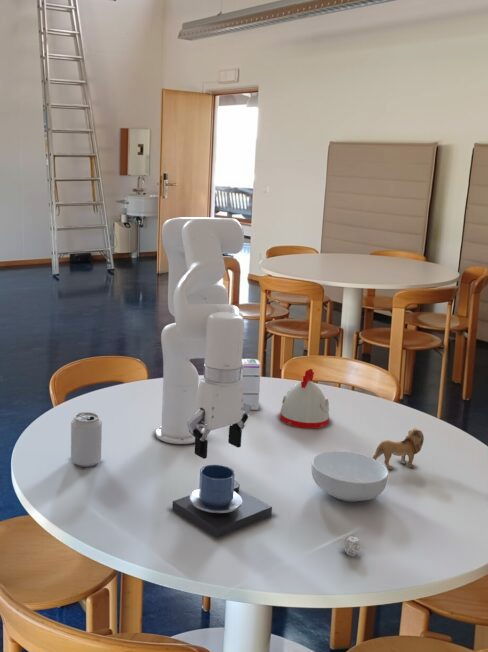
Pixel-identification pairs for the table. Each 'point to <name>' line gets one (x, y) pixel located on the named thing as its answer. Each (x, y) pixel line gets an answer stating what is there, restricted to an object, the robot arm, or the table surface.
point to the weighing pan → (204, 506)
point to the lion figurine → (401, 448)
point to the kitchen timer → (305, 405)
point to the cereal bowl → (349, 475)
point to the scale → (224, 514)
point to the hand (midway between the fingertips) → (217, 450)
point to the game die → (352, 546)
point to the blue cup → (216, 484)
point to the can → (86, 439)
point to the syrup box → (251, 382)
